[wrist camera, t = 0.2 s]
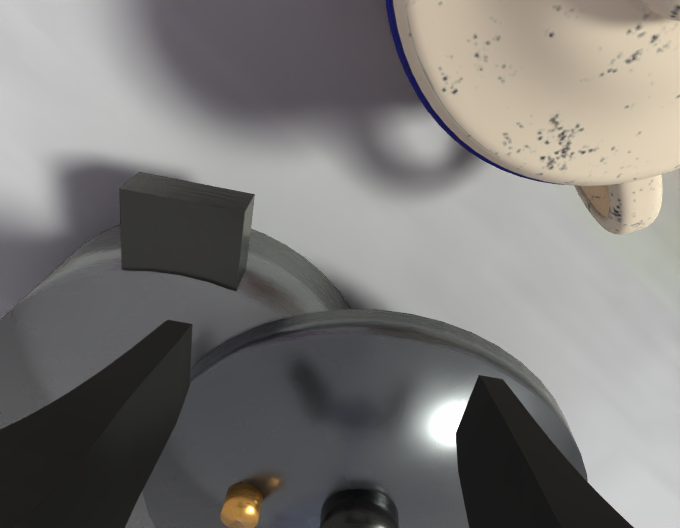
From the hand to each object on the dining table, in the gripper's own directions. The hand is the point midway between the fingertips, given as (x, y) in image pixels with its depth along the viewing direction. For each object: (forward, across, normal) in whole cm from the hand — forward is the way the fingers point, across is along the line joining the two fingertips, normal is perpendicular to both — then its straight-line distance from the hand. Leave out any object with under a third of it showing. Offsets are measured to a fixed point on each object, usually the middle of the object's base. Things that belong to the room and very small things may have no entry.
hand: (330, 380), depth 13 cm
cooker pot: (+10, +6, +9) cm, 15 cm away
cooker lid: (+5, -2, +9) cm, 11 cm away
